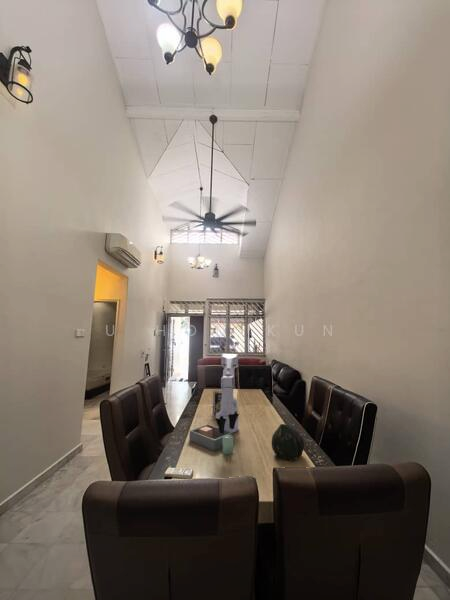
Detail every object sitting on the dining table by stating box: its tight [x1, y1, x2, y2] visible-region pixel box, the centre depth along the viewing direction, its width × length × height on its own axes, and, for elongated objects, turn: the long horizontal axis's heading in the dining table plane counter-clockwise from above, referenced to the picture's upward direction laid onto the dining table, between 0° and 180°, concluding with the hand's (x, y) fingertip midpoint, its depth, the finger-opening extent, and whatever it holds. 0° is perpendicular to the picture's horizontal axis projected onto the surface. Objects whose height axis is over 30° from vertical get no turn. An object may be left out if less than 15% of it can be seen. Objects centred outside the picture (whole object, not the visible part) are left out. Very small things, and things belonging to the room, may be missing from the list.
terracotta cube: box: [199, 427, 213, 438], centre depth 138 cm, size 5×5×5 cm
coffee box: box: [211, 390, 222, 419], centre depth 176 cm, size 9×6×16 cm
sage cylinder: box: [221, 434, 234, 456], centre depth 124 cm, size 5×5×7 cm
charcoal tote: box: [189, 424, 233, 452], centre depth 136 cm, size 18×14×5 cm
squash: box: [271, 423, 305, 461], centre depth 122 cm, size 14×15×15 cm
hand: (226, 430), depth 126 cm, fingers open, 7 cm apart
